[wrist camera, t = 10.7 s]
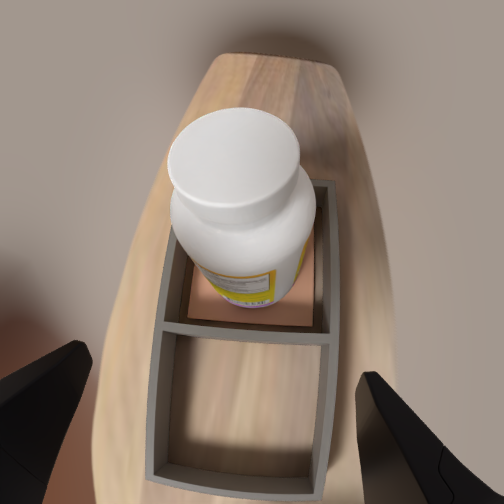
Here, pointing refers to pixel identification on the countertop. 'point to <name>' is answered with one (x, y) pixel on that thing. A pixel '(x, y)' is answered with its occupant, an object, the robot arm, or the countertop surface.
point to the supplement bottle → (242, 203)
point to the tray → (219, 309)
